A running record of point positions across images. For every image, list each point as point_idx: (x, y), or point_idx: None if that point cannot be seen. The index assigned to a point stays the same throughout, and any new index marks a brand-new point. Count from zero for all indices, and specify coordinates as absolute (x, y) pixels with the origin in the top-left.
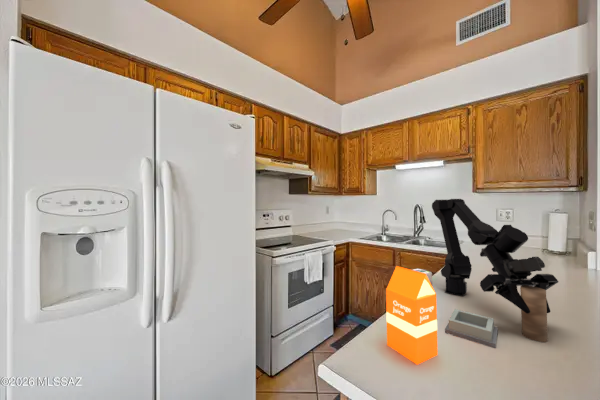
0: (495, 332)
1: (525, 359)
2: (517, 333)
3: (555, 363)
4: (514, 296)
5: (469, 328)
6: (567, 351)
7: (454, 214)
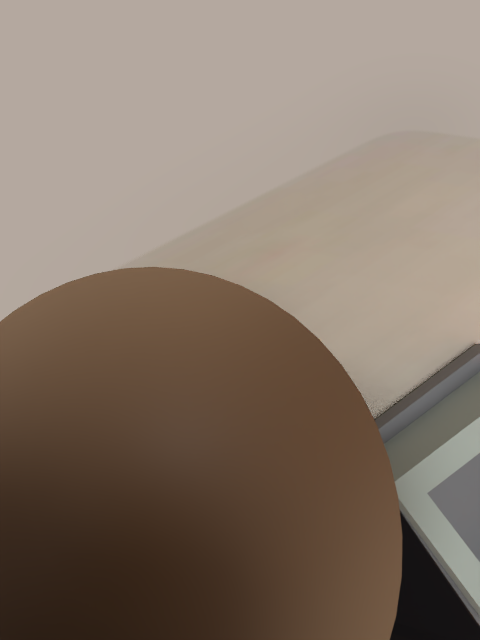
0: (401, 419)
1: (427, 269)
2: None
3: (348, 235)
4: None
5: None
6: (228, 274)
7: None
